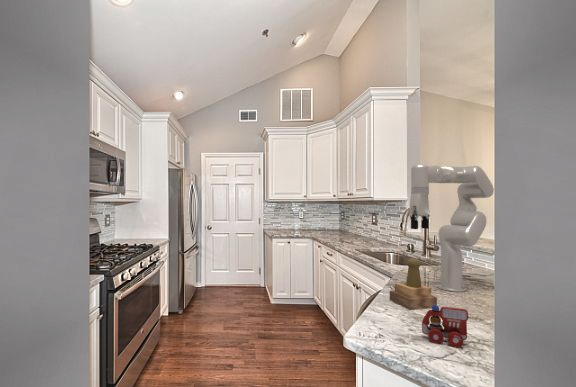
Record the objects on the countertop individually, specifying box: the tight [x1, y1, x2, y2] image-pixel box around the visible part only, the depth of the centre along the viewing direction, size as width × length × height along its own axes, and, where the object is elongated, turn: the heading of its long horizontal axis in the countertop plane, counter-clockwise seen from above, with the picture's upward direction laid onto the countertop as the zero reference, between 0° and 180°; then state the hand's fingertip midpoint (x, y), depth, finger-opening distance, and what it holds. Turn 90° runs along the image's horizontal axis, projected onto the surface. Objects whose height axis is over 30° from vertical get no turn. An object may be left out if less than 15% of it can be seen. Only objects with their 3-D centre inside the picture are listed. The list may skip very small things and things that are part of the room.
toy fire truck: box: [421, 304, 469, 348], centre depth 93 cm, size 7×12×10 cm, turn 64°
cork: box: [405, 258, 422, 288], centre depth 129 cm, size 6×6×11 cm
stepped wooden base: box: [389, 282, 438, 311], centre depth 129 cm, size 13×13×8 cm
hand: (419, 228), depth 143 cm, fingers open, 9 cm apart
